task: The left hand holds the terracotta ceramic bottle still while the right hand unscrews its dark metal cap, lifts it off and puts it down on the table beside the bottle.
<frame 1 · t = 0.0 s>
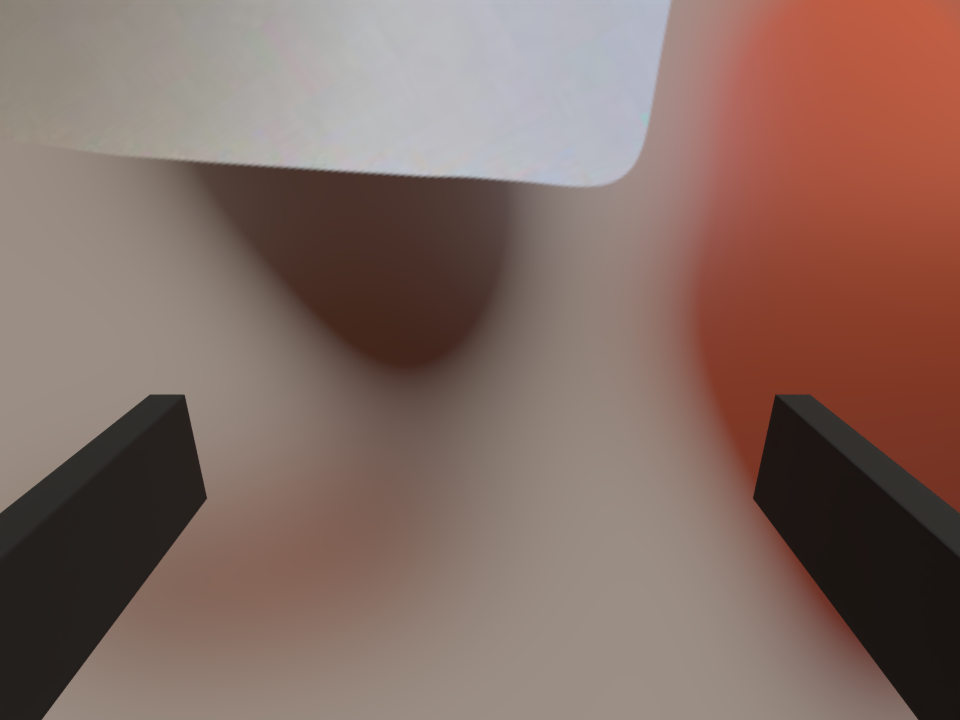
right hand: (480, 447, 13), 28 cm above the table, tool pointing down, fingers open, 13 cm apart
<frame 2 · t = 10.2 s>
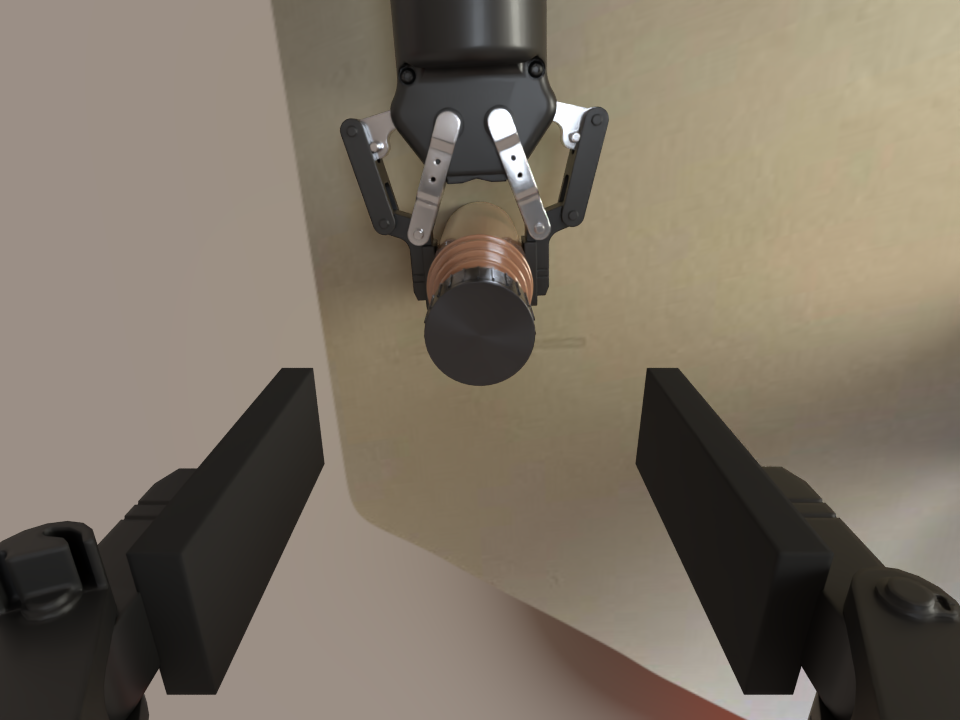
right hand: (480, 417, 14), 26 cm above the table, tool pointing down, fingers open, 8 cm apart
left hand: (482, 303, 33), fingers closed on bottle, 5 cm apart
cap: (479, 332, 20), point 19 cm above the table, screwed on, not yet turned
bottle: (479, 239, 38), on the table, touching left hand
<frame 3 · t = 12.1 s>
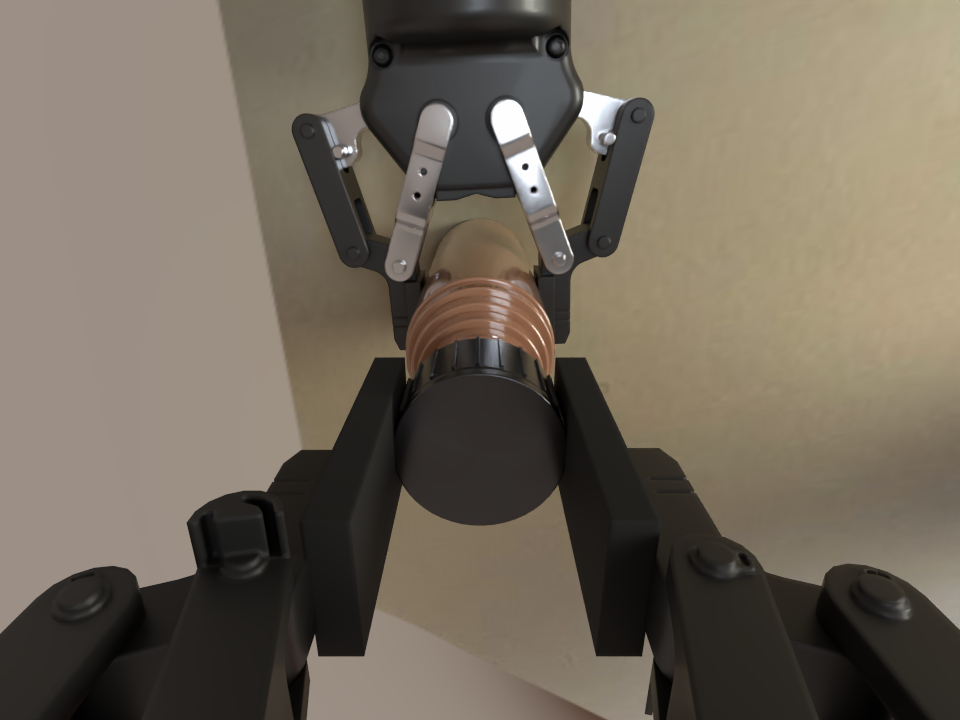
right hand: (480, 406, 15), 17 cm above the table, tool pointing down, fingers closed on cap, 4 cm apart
left hand: (483, 351, 26), fingers closed on bottle, 5 cm apart
cap: (480, 447, 13), point 19 cm above the table, screwed on, not yet turned, touching right hand
bottle: (480, 265, 31), on the table, touching left hand
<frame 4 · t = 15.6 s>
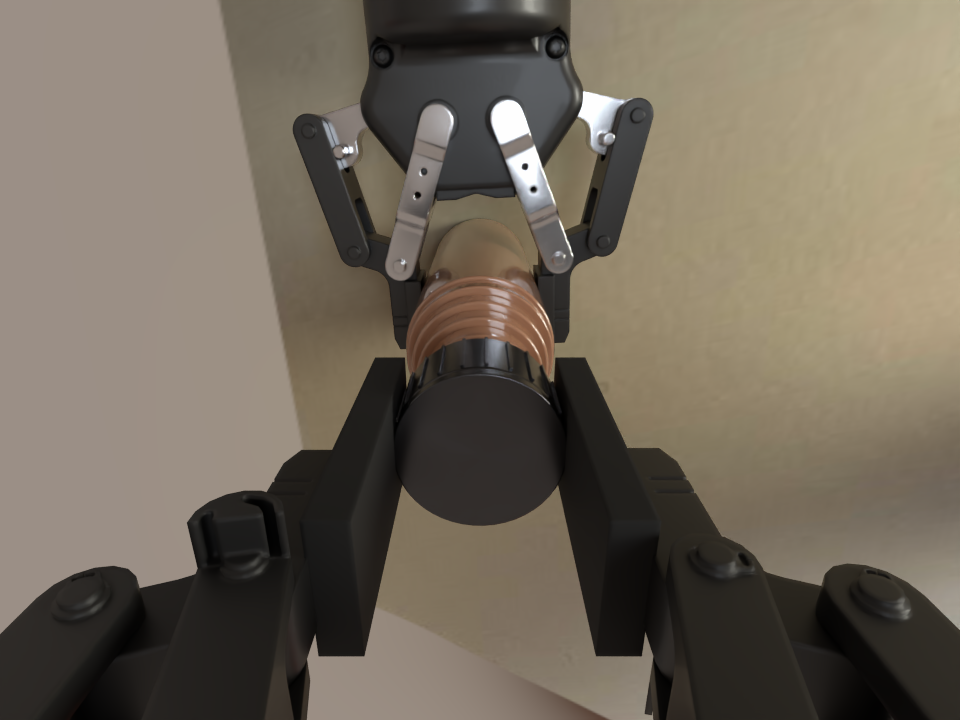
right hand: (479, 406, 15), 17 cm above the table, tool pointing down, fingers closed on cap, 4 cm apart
left hand: (483, 350, 26), fingers closed on bottle, 5 cm apart
cap: (480, 447, 13), point 19 cm above the table, turned 135° so far, risen 0.1 cm, still on its thread, touching right hand
bottle: (480, 264, 31), on the table, touching left hand
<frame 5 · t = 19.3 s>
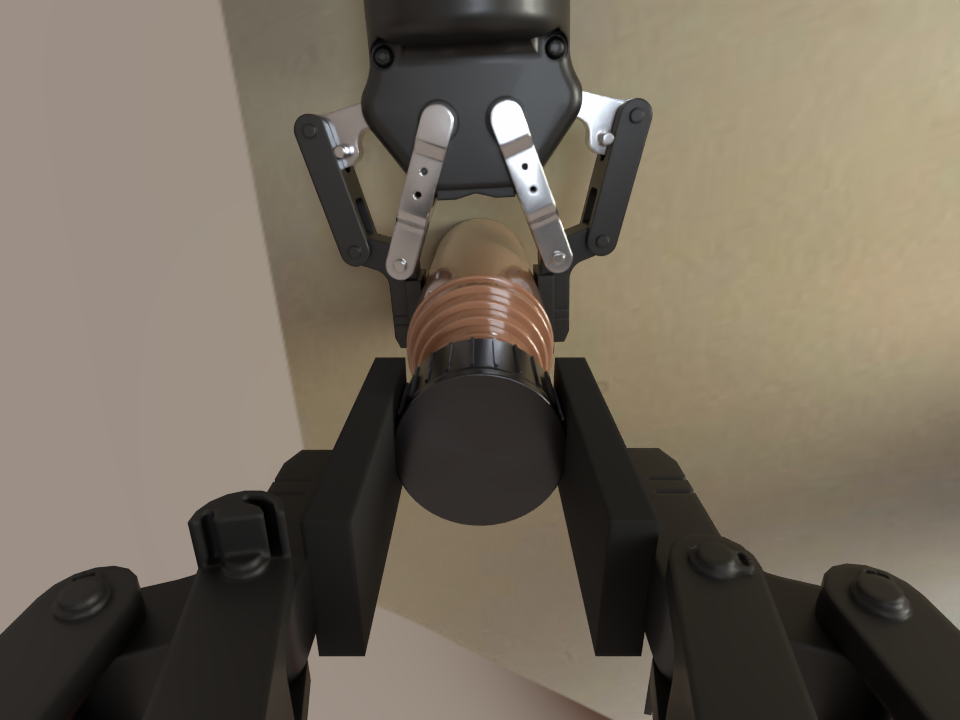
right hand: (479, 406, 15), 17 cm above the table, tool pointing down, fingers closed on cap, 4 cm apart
left hand: (483, 349, 26), fingers closed on bottle, 5 cm apart
cap: (480, 447, 13), point 19 cm above the table, turned 270° so far, risen 0.2 cm, still on its thread, touching right hand
bottle: (480, 264, 31), on the table, touching left hand
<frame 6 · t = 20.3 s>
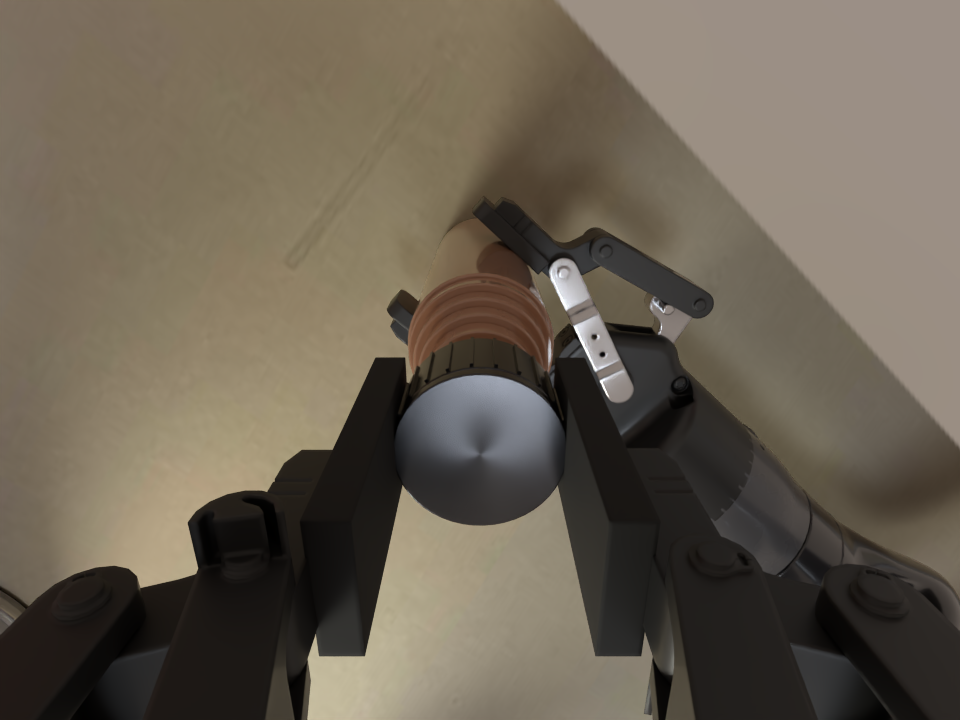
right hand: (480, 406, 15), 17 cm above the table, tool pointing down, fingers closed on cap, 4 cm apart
left hand: (435, 254, 24), fingers closed on bottle, 5 cm apart
cap: (480, 447, 13), point 19 cm above the table, off its thread, touching right hand
bottle: (480, 263, 31), on the table, touching left hand
when the right hand's fingers open (2 cm above the table, at t = 25.1 s): cap drops 2 cm, point 2 cm above the table.
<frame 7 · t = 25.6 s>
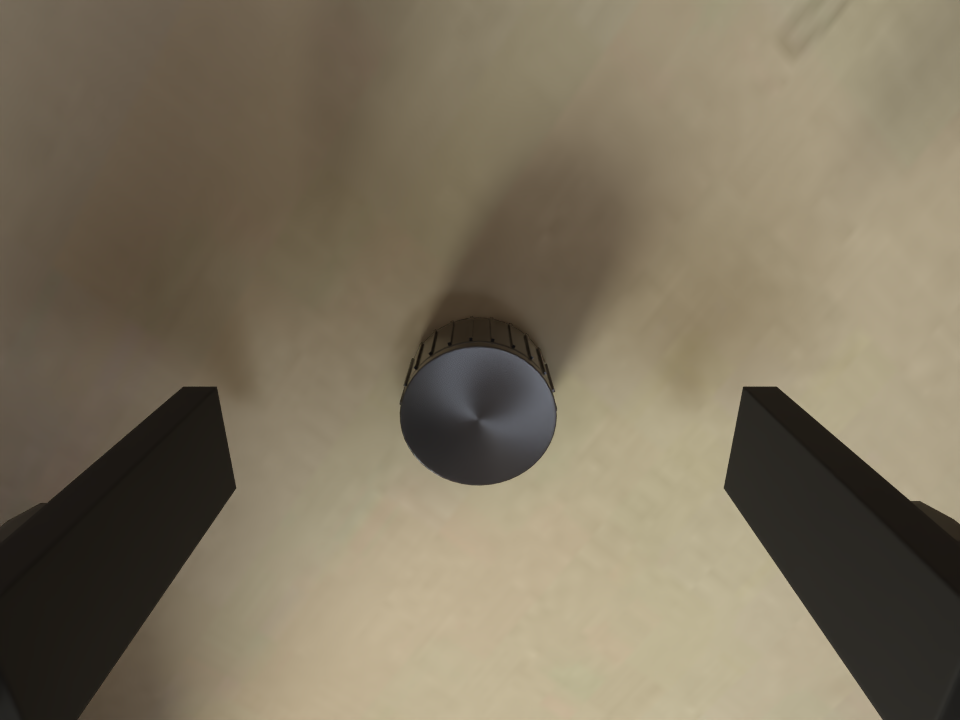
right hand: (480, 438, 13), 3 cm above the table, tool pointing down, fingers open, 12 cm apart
cap: (478, 414, 14), point 2 cm above the table, off its thread
when the left hand's fingers open (6 cm above the table, at t = 26.4 s): bottle stays where it is, on the table.
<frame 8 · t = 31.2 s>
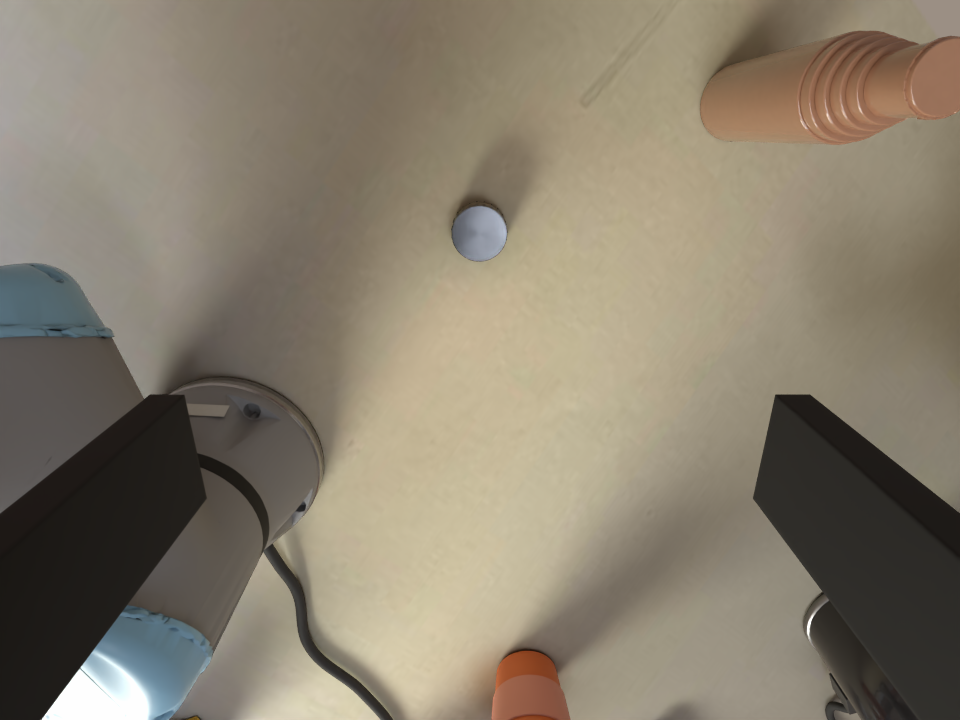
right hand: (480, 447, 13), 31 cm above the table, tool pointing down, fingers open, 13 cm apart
cup with straw: (526, 669, 59), on the table
cap: (479, 233, 40), point 2 cm above the table, off its thread
bottle: (735, 102, 39), on the table
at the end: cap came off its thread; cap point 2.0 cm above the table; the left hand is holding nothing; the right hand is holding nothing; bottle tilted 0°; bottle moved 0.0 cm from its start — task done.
